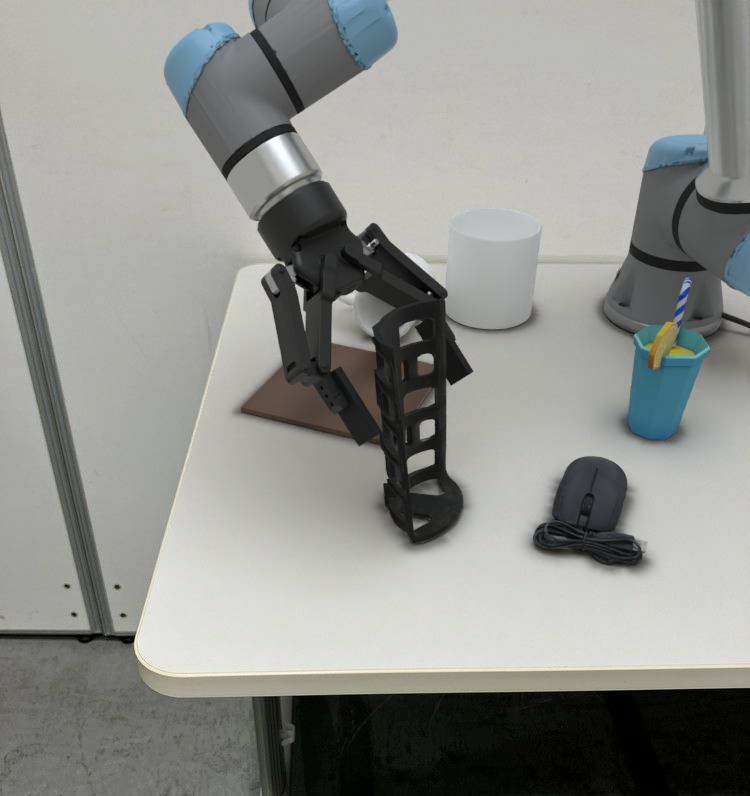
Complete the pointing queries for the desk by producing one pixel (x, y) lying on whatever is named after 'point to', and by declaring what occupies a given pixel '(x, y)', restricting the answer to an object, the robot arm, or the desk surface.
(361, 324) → the mug
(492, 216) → the cup
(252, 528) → the desk surface
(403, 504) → the holder
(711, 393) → the desk surface
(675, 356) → the cup
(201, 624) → the desk surface
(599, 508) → the computer mouse
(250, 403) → the board
